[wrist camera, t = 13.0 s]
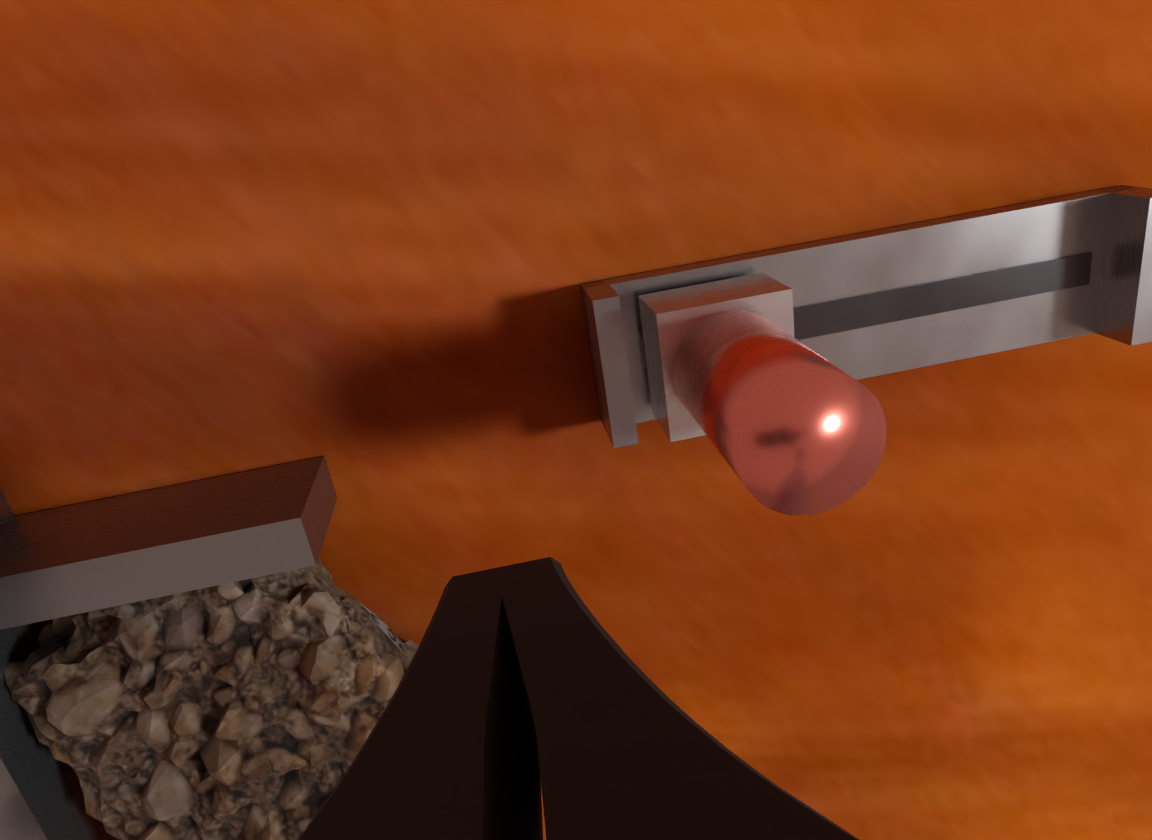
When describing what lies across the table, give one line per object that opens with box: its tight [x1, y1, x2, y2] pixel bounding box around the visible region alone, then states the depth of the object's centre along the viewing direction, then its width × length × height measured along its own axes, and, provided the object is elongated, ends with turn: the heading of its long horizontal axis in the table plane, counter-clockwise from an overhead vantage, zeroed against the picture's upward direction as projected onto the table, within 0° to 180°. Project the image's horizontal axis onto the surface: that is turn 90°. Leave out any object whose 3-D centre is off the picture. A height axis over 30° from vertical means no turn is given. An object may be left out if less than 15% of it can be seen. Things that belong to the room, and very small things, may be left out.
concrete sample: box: [5, 559, 419, 840], centre depth 20 cm, size 12×10×5 cm
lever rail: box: [581, 185, 1152, 448], centre depth 19 cm, size 4×14×2 cm, turn 98°
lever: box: [638, 273, 887, 515], centre depth 16 cm, size 3×3×6 cm
